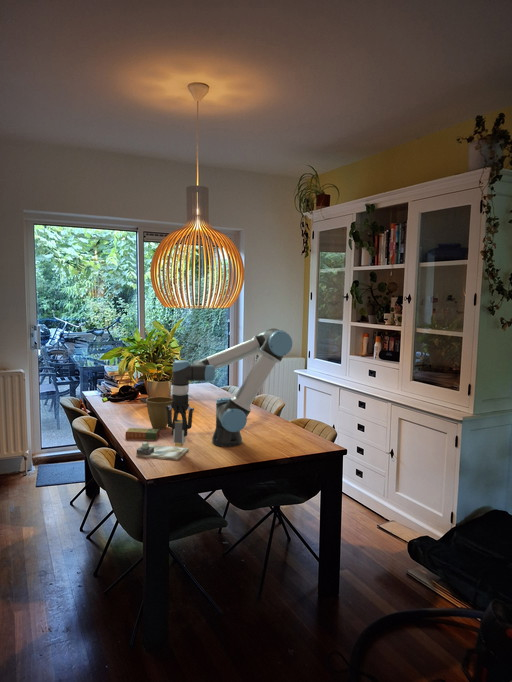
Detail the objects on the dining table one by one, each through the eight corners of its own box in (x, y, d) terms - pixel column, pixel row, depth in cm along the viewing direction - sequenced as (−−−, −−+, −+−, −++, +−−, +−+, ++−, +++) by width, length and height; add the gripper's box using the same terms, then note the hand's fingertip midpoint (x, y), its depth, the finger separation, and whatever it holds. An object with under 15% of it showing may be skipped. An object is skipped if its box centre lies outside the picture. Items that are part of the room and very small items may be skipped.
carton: (129, 435, 264) (129, 427, 263) (160, 436, 263) (160, 428, 263) (125, 439, 255) (125, 431, 255) (156, 440, 255) (156, 432, 255)
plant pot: (156, 433, 267) (157, 403, 266) (140, 427, 277) (140, 399, 276) (178, 427, 278) (179, 399, 276) (162, 422, 288) (162, 395, 286)
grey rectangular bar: (184, 444, 237) (184, 420, 235) (181, 447, 233) (182, 422, 232) (177, 444, 237) (177, 419, 236) (174, 446, 234) (174, 421, 233)
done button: (149, 448, 234) (149, 442, 233) (147, 450, 231) (147, 444, 230) (143, 448, 234) (143, 441, 234) (140, 450, 231) (140, 443, 231)
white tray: (188, 450, 241) (188, 444, 240) (177, 460, 226) (177, 454, 226) (149, 446, 245) (149, 440, 244) (136, 456, 230) (136, 449, 230)
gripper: (199, 393, 235) (198, 441, 237) (166, 390, 238) (165, 438, 240) (194, 396, 227) (193, 446, 230) (160, 393, 231) (159, 443, 233)
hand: (179, 442), depth 235 cm, fingers closed on grey rectangular bar, 3 cm apart
